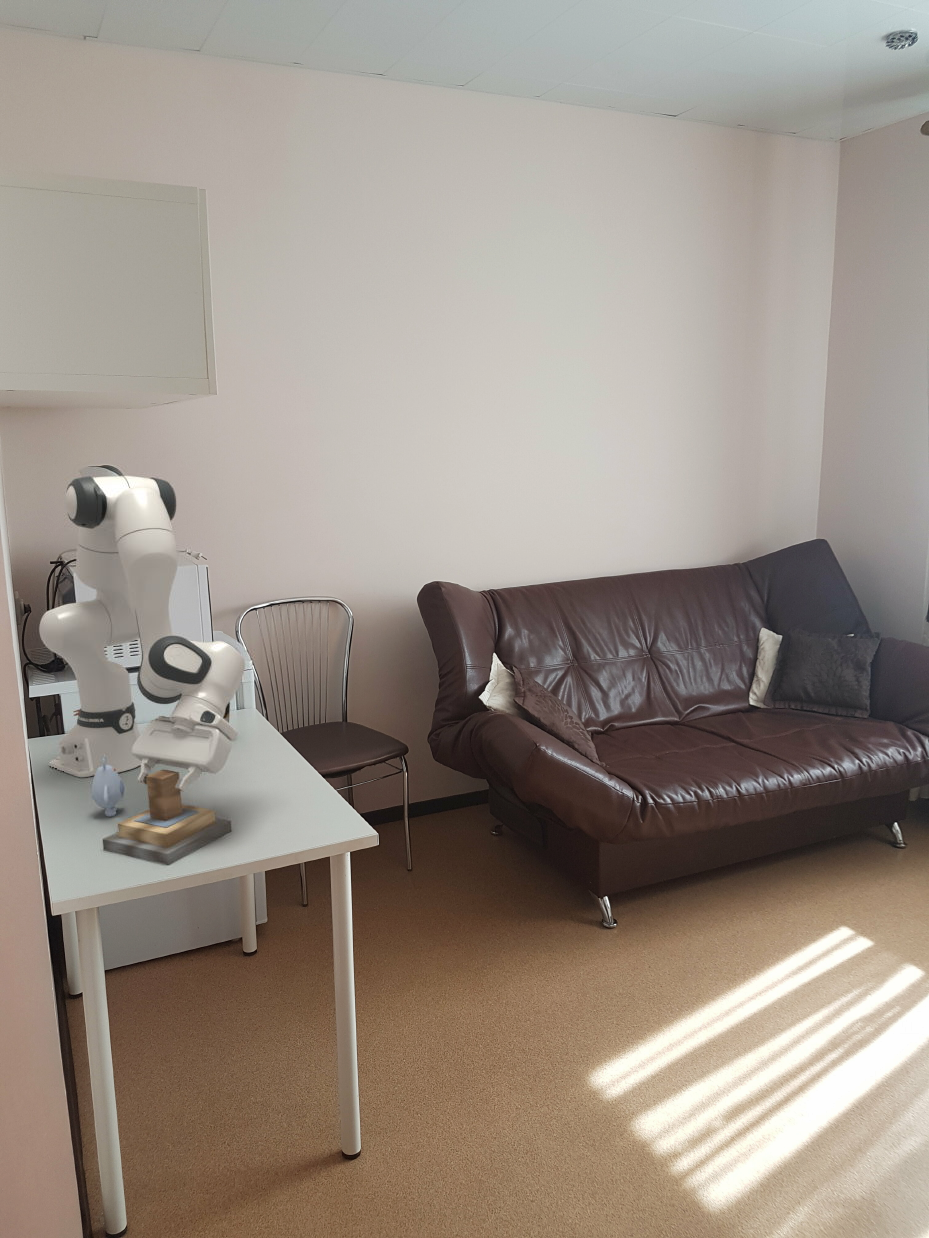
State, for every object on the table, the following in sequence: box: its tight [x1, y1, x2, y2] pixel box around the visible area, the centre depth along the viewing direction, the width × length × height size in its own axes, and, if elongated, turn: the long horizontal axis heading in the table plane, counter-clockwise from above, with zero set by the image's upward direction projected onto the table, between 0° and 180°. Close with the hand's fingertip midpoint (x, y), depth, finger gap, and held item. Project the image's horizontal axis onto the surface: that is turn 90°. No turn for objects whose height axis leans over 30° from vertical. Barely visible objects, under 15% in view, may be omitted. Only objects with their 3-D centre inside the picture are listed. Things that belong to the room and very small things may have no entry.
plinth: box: [102, 803, 232, 866], centre depth 168 cm, size 16×16×5 cm
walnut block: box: [146, 769, 183, 821], centre depth 167 cm, size 4×4×8 cm
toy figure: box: [90, 754, 125, 817], centre depth 182 cm, size 11×6×12 cm, turn 17°
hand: (161, 786), depth 166 cm, fingers open, 8 cm apart
